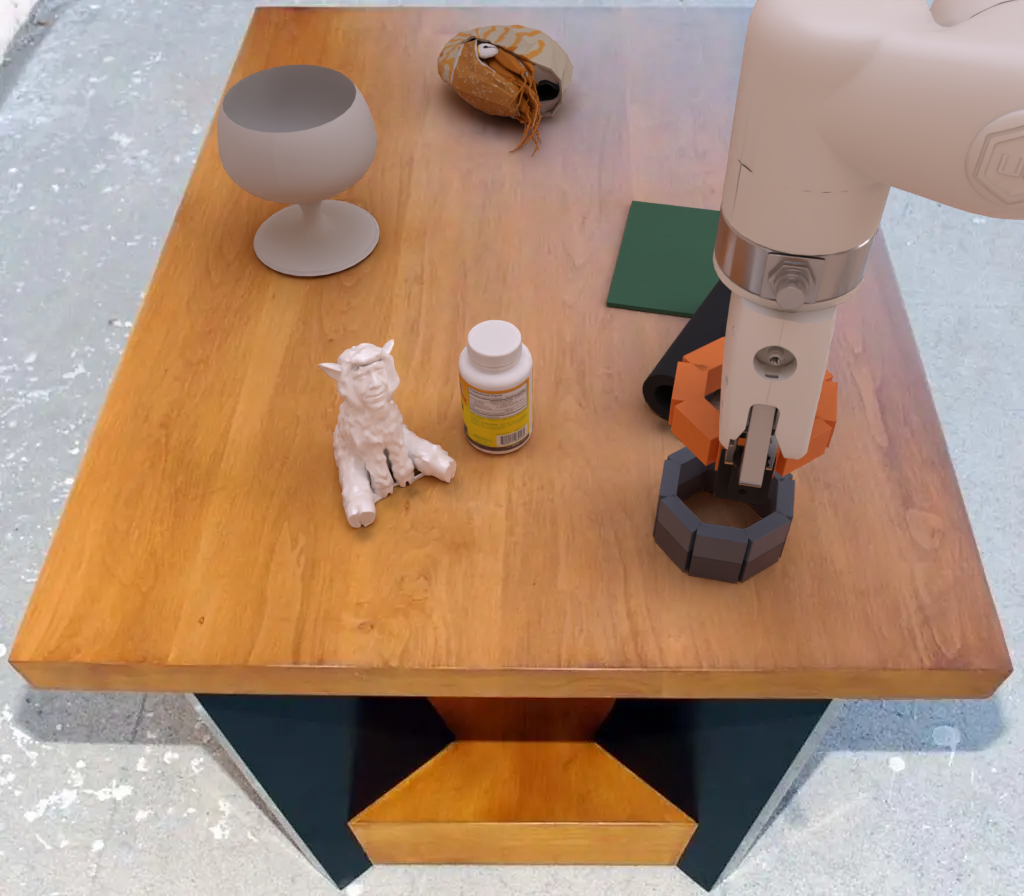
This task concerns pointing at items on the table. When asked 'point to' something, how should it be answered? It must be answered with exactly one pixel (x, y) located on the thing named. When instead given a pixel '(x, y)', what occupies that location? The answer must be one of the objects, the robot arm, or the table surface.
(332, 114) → the chalice
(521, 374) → the supplement bottle
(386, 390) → the white creature statuette
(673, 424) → the orange ring
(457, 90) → the nautilus
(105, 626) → the table surface
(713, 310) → the pipe connector
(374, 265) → the table surface
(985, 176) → the robot arm
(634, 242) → the green mat
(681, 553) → the ring stack
